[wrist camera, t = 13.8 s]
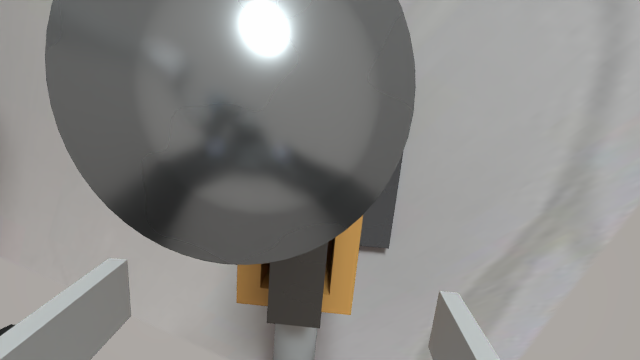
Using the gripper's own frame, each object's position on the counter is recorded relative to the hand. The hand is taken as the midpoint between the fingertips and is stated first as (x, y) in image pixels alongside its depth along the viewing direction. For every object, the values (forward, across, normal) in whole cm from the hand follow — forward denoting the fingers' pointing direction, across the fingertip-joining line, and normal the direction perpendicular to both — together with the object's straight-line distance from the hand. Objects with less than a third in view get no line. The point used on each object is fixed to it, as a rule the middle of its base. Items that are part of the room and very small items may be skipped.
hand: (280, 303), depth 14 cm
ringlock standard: (+19, 0, +4) cm, 20 cm away
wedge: (+17, 0, 0) cm, 17 cm away
